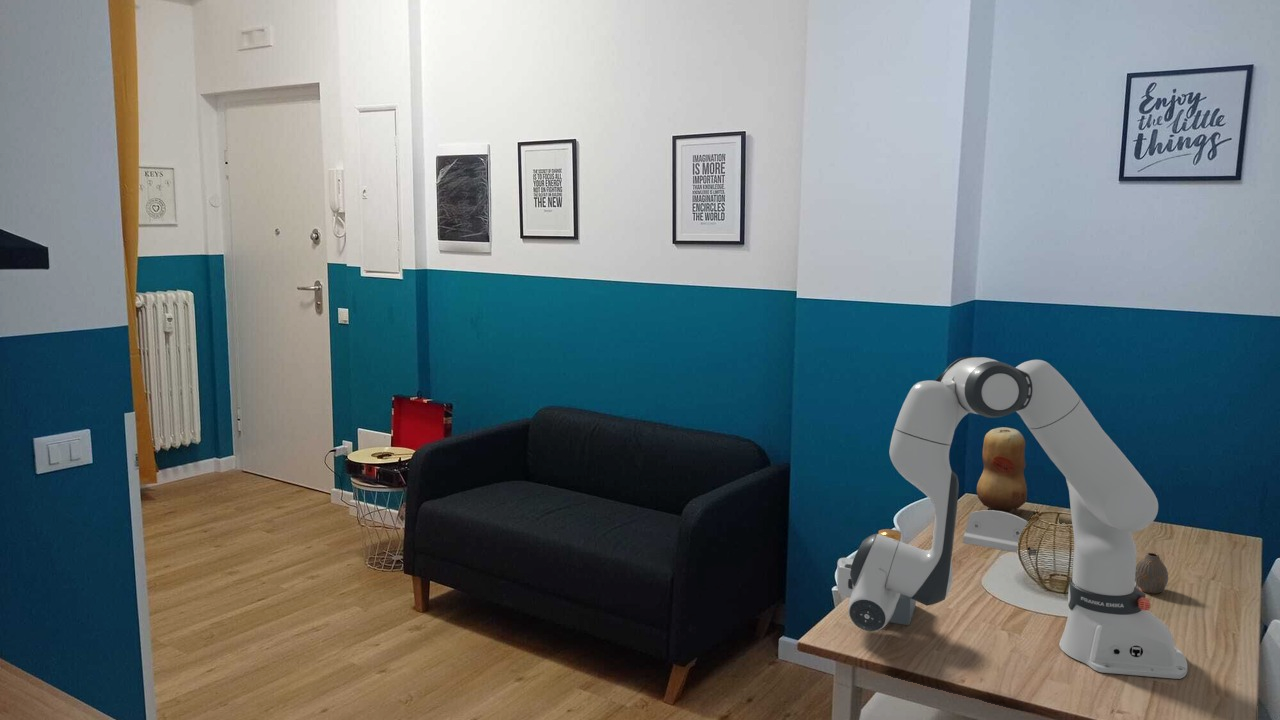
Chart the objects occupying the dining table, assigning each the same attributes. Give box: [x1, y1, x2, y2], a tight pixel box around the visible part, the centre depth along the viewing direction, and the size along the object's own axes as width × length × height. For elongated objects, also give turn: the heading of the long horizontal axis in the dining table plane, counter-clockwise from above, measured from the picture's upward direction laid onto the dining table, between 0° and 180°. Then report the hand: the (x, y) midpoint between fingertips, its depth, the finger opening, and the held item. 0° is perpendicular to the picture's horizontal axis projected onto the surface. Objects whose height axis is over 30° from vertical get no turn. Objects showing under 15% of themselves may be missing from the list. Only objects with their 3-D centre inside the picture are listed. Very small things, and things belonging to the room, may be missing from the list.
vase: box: [1135, 552, 1169, 595], centre depth 212 cm, size 7×7×9 cm
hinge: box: [962, 509, 1029, 554], centre depth 243 cm, size 17×5×10 cm, turn 55°
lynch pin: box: [877, 528, 902, 542], centre depth 202 cm, size 5×5×16 cm
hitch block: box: [888, 594, 917, 626], centre depth 203 cm, size 11×11×6 cm
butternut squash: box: [976, 426, 1028, 513], centre depth 269 cm, size 14×13×25 cm
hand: (889, 562), depth 203 cm, fingers open, 3 cm apart
